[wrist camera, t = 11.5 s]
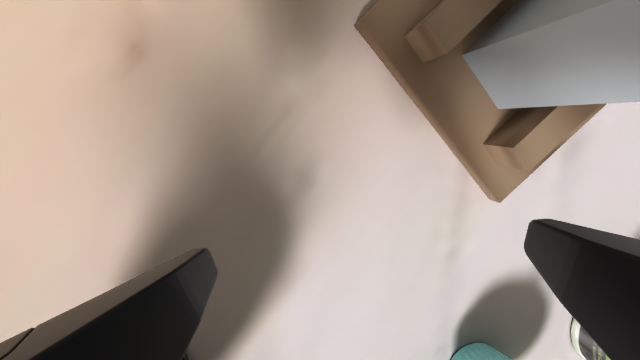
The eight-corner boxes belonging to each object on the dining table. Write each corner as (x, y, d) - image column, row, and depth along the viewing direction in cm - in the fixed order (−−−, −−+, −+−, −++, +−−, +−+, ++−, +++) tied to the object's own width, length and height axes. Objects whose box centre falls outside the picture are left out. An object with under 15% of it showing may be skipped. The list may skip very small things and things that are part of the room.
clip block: (498, 109, 18) (703, 98, 9) (461, 54, 17) (657, -16, 8) (548, 61, 18) (808, 4, 9) (515, 3, 17) (775, -126, 8)
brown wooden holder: (489, 198, 21) (530, 214, 17) (354, 25, 16) (373, 1, 13) (608, 87, 20) (675, 81, 17) (499, -121, 16) (559, -186, 12)
